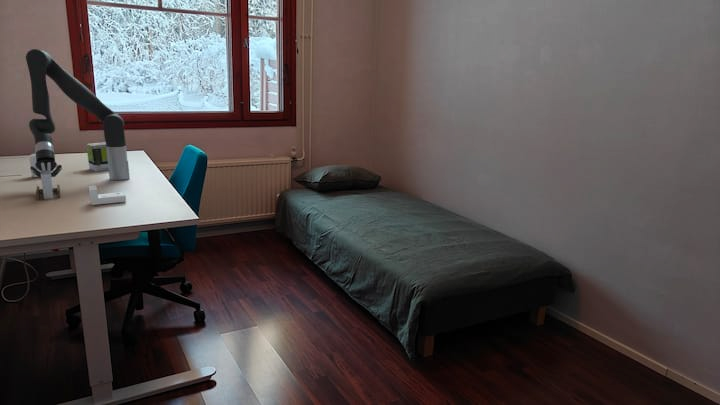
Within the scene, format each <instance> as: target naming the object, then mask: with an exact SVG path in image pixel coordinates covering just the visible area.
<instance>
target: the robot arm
mask: <svg viewBox="0 0 720 405" xmlns="http://www.w3.org/2000/svg"><path fill="white" fill-rule="evenodd" d="M25 61H26V63H27V68H28V73H29V78H30V86H31V105H32V112H33V113H34V114H36V115H41V116H44V117H45V118H32V119H31V120H30V121H29V122H28V127H29V130H30V132H31V134H32V136H33V138H34V144H35V148H34V149H35V150H34V154H36V164H35V166H34V167H31V166H30V171H32V172H33V173H34V174H36V175H37V176H38V177H37V178H40V179H41V172H39V171H38V170H37V168H38V169H39V170H40V171H41V170H51V171H53V170H54V171H53V172H52V173H51V177H52V178H56V176H57V175H59V173H60V172H61V171H62V170H63V167H62V164H58V163H57V162H56V155H55V150H54V149H55V148H54V144H53V143H54V142H53V137H52V135H50V134H53V133H54V132H55V130H56V126H55V122H54V119H53V118H52V114H51V108H50V107H51V105H50V104H51V102H50V95H49V94H50V93H49V90H48V85H47V78H46V77H49V79H51V80H52V81H53V82H54V83H55V84H56V85H57V87H58V88H59V89H60V90H61V91H62V92H63V94H65V96H66V97H67V98H69V99H70V100H71V101H72V102H74V103H75V104H76V105H78V106H79V107H81V108H82V109H84V110H85V111H87V112H89V113H91V114H92V115H94V117H96V118H97V120H99V121H100V122H101V123H102V126H103V136H104V142H106V150H107V159H108V168H109V170H108V176H109V180H111V181H124V180H130V178H131V177H130V169H129V168H130V167H129V160H128V152H127V141H126V136H125V135H126V134H125V121H124V119H123V117H122V116H121V115H119V114H118V113H116V112H114V111H113V110H112V109H110V107H108V106H106V105H105V104H104V103H103V102H102V101H101V99H99V98H98V96H96V95H95V93H93V92H92V90H90V89H89V88H88V87H87V86H86V85H84V84H83V83H82V82H81V81H79V79H77V78H76V77H74V76H73V75H72V74H71V73H69V72H68V71H67V70H65V69H64V68H63V67H62V66H61V65H60V64H59V63H57V61H56V60H54V58H53V57H52V56H51V55H50V54H49V53H48V52H46V51H45V50H43V49H41V48H40V49H39V48H38V49H37V48H32V49H30V50H29V51H27V53H26V54H25Z"/></svg>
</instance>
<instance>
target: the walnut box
mask: <svg viewBox="0 0 720 405" xmlns="http://www.w3.org/2000/svg"><path fill="white" fill-rule="evenodd" d="M56 186H57V187H53V191H54V198H52V199H51V200H57V199H58V200H59V199H61V188H60V186H61V185H60V184H57V185H56ZM35 191H36V192H35V195H36V201H44V200H45V201H46V200H49V199H44V194H43V188H40V186H38V185H37V186H36V190H35Z"/></svg>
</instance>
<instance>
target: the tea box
mask: <svg viewBox="0 0 720 405" xmlns="http://www.w3.org/2000/svg"><path fill="white" fill-rule="evenodd" d="M85 146H86V147H85V148H86V152H87V153H86V154H87V160H88V166H89V169H90V170H91V171H94V172H101V171H109V168H108V159H107V150H106V142H105V141H103V142H95V143H86V144H85Z"/></svg>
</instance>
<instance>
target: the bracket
mask: <svg viewBox="0 0 720 405" xmlns="http://www.w3.org/2000/svg"><path fill="white" fill-rule="evenodd" d="M88 190H89V191H88V192H89V199H90V205H92V206H94V205H105V204H115V203H123V202H127V199H126V198H127V196H126V194H125V193H124V192H122V191H121V192H109V193H101V194H99V193H98V192H99V191H98V188H97V186H96V185H89V186H88Z"/></svg>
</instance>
